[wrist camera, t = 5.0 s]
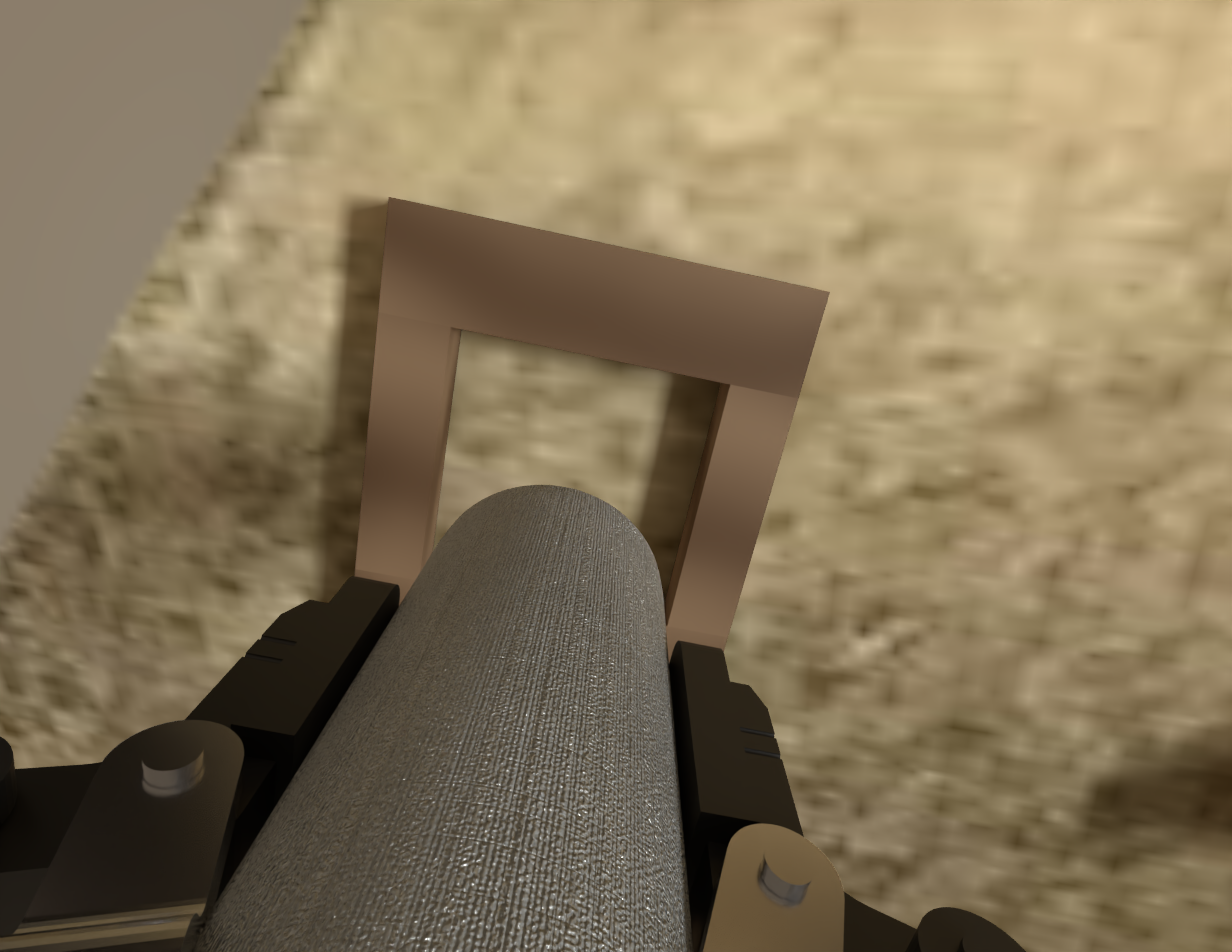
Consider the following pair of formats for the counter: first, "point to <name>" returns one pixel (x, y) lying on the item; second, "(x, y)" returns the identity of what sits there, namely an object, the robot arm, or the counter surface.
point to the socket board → (591, 325)
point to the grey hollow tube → (489, 760)
